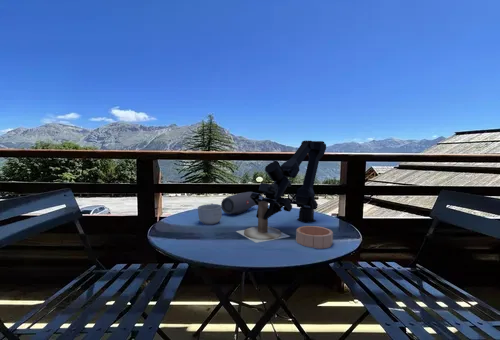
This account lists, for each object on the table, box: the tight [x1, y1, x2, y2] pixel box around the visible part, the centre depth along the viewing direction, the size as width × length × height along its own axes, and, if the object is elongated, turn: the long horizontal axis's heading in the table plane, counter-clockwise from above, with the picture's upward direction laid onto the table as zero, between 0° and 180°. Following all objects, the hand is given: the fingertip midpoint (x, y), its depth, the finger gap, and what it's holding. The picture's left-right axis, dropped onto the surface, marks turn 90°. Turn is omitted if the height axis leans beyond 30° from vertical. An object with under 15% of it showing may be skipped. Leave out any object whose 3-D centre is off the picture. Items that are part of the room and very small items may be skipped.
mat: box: [235, 229, 291, 244], centre depth 121 cm, size 16×16×1 cm
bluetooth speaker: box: [220, 191, 257, 215], centre depth 160 cm, size 23×9×10 cm, turn 148°
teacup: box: [197, 203, 223, 226], centre depth 138 cm, size 14×11×8 cm
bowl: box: [295, 225, 334, 250], centre depth 112 cm, size 13×13×4 cm
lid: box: [244, 201, 282, 241], centre depth 120 cm, size 15×15×13 cm
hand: (260, 218), depth 119 cm, fingers closed on lid, 3 cm apart
